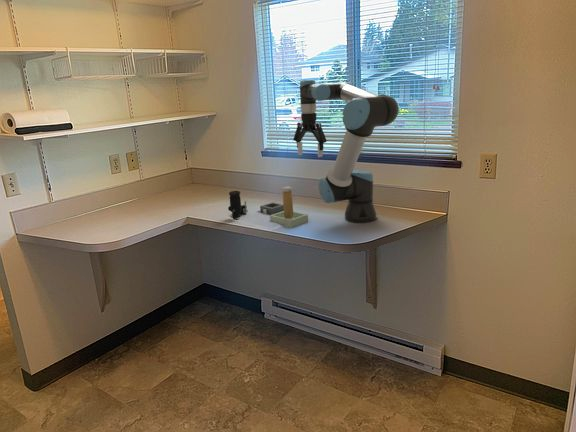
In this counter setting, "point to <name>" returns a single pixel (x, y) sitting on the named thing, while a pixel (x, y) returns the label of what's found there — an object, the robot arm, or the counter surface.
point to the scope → (236, 205)
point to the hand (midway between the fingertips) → (310, 155)
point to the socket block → (271, 208)
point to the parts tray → (298, 219)
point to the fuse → (288, 203)
